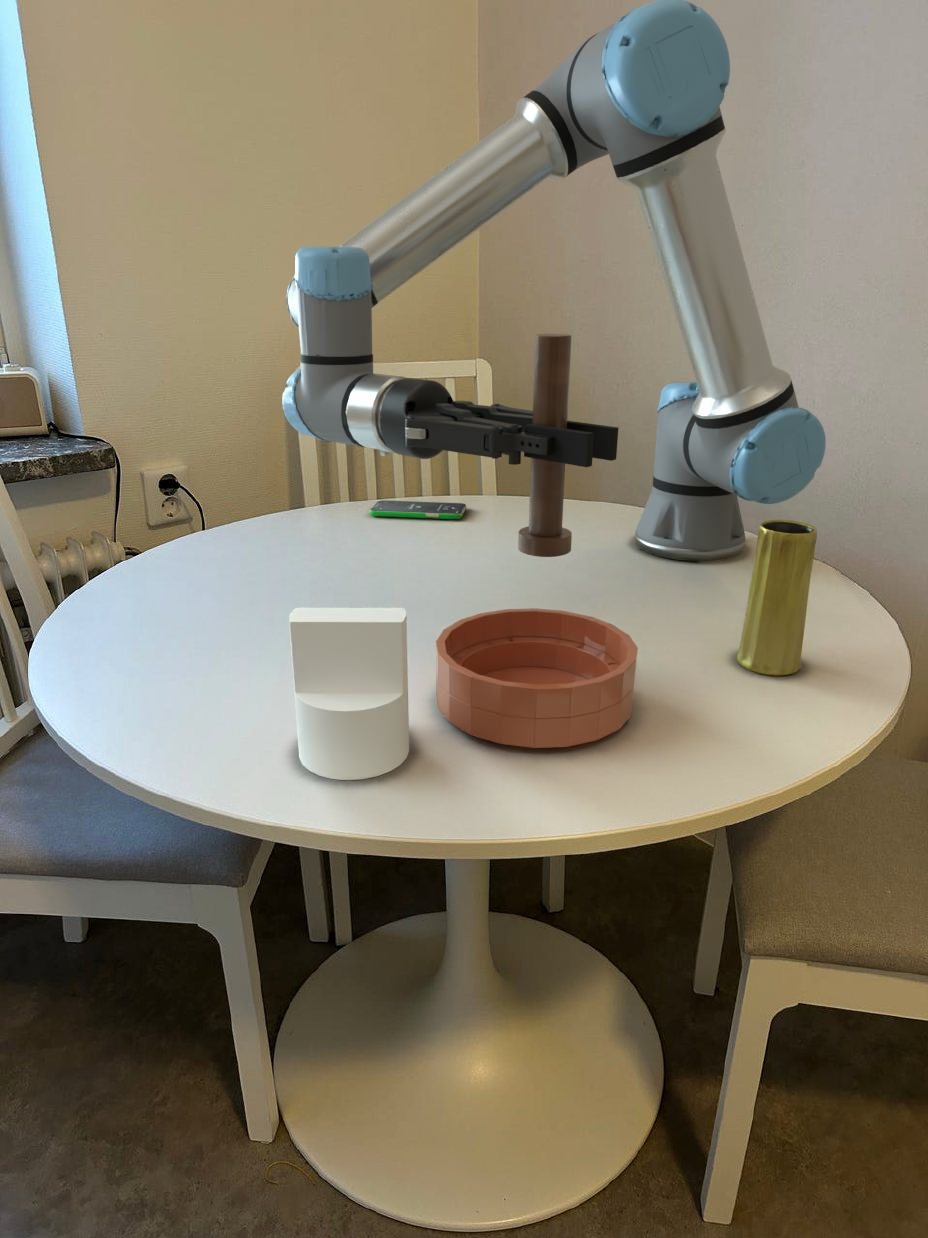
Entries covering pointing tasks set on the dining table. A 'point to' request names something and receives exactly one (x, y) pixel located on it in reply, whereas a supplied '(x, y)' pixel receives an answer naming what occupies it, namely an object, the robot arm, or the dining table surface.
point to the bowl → (535, 677)
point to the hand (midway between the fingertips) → (602, 446)
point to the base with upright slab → (350, 690)
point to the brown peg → (546, 475)
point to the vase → (778, 598)
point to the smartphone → (418, 509)
